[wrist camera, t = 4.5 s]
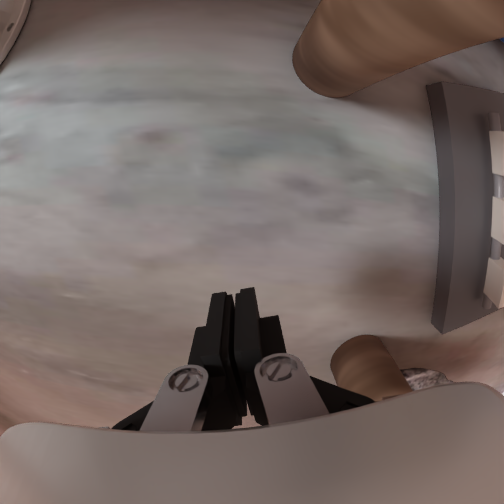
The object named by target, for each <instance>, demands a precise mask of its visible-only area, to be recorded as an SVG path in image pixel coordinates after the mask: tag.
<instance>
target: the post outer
mask: <svg viewBox="0 0 504 504" xmlns="http://www.w3.org/2000/svg"><path fill="white" fill-rule="evenodd" d="M330 366H331V370H332V373H333V375H334V378H335V380H336V383H337V386H338V387H341V388H344V389H347V390H350V391H353V392H355V393H358V394H361V395H364V396H367V397H369V398H371V399H373V400H374V401H382V397H386V396H394V395H401V394H406V393H409V392H412V391H413V390H412V388H411V387H410V385H409V384H408V382H407V380H406V379H405V377H404V376H403V374H402V372H401V371H400V369H399V368H398V366H397V365H396V363H395V362H394V360H393V358H392V357H391V355H390V354H389V352H388V351H387V349H386V348H385V346H384V345H383V343H382V342H381V340H380V339H379V338H377V337H375V336H372V335H361V336H357V337H354V338H351V339H349V340H348V341H346V342H345V343H343V344H342V345H341V346H340V347H339V348H338V349H337V350H336V351H335V353H334V354H333V356H332V359H331V364H330Z"/></svg>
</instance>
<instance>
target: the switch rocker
mask: <svg viewBox="0 0 504 504" xmlns="http://www.w3.org/2000/svg"><path fill="white" fill-rule="evenodd" d="M488 119H489V126H490V131H489V135H490V145H491V158H492V173H493V178H494V196H493V203H492V227H491V237H492V240H491V250H490V257H489V259H488V267H487V273H486V280H485V286H484V291H483V292H484V296H483V301H482V307H483V308H484V309H490V308H491V305H492V302H493V303H494V304H495V305H496V307H497V308H498V309H499V308H503V307H504V259H502V258H501V257H500V254H501V246H502V244H503V245H504V131H501V125H500V117H499V113H495V112H488Z"/></svg>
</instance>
